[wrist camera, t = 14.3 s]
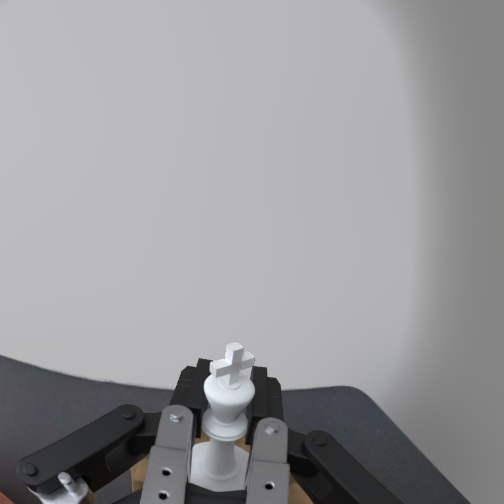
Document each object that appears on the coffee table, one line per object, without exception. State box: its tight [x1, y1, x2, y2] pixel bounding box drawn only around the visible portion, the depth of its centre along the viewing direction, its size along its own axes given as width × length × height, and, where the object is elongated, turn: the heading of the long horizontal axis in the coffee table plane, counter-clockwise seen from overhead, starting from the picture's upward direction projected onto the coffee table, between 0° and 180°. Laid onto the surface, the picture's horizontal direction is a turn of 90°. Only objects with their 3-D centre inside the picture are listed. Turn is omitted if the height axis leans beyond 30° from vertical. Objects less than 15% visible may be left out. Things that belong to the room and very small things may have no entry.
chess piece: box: [190, 342, 255, 492], centre depth 11 cm, size 5×5×10 cm
